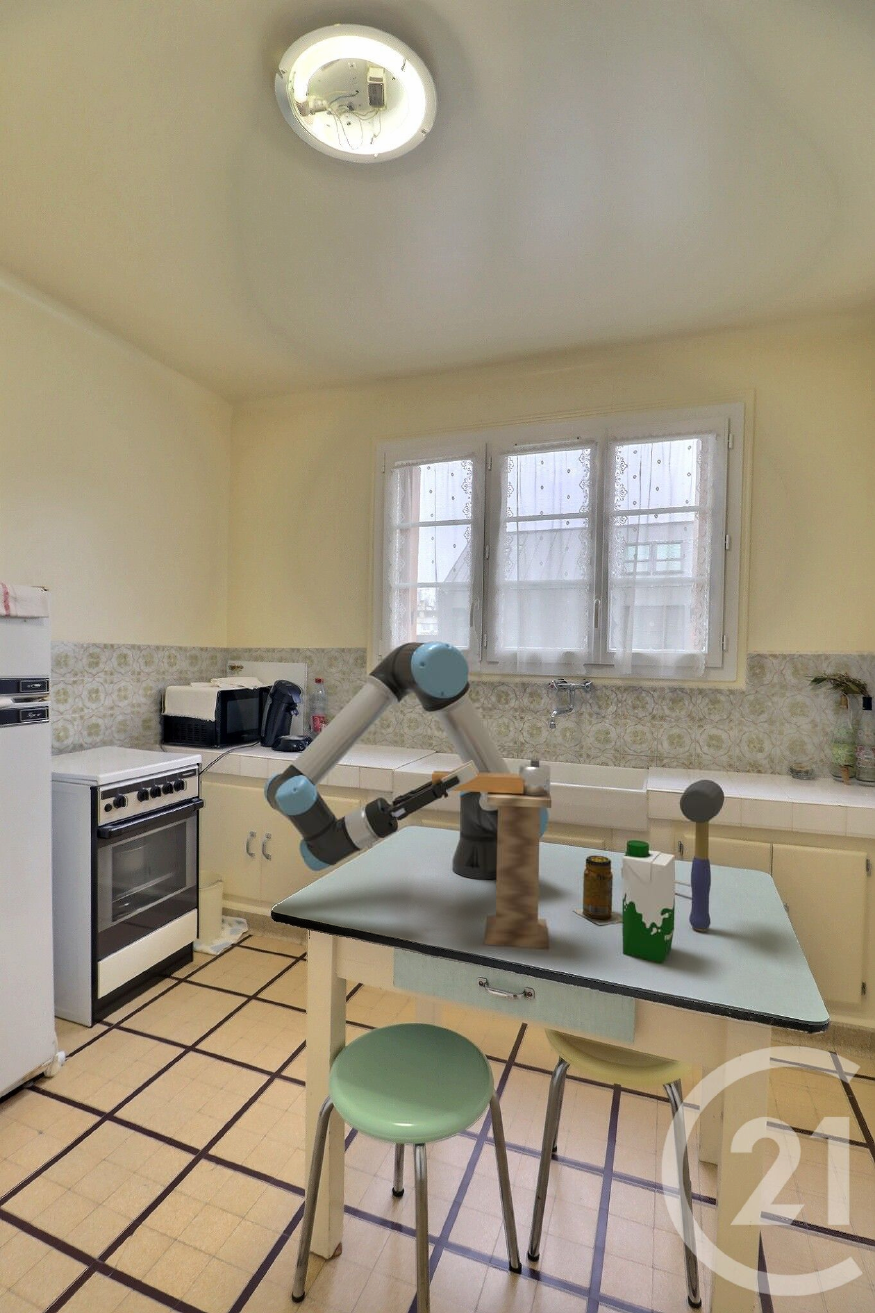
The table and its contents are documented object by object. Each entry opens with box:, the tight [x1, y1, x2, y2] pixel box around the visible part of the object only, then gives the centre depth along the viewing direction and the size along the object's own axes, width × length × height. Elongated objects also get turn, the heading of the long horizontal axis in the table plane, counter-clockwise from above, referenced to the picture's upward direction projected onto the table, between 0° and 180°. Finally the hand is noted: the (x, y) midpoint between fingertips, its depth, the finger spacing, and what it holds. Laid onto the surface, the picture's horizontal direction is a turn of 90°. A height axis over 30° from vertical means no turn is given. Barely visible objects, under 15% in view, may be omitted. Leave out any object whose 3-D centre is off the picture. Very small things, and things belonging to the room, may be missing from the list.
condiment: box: [573, 854, 622, 926], centre depth 138 cm, size 7×8×12 cm
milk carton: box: [621, 839, 676, 964], centre depth 122 cm, size 9×9×20 cm
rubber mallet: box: [679, 779, 725, 932], centre depth 132 cm, size 12×8×30 cm, turn 149°
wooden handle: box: [431, 758, 551, 795], centre depth 128 cm, size 23×6×6 cm, turn 84°
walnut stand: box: [484, 792, 552, 950], centre depth 128 cm, size 12×10×28 cm
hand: (474, 768), depth 129 cm, fingers closed on wooden handle, 4 cm apart
